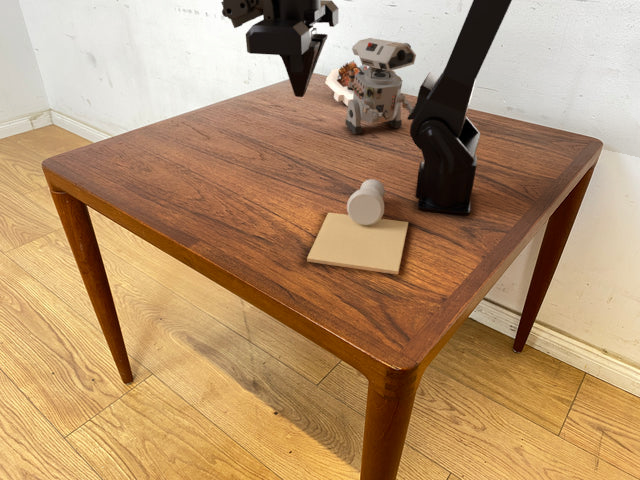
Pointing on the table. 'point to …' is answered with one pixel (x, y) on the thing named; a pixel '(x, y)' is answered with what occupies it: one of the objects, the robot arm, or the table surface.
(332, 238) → the cork mat
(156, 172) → the table surface
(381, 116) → the figurine
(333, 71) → the mineral specimen
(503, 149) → the table surface
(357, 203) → the rook chess piece
